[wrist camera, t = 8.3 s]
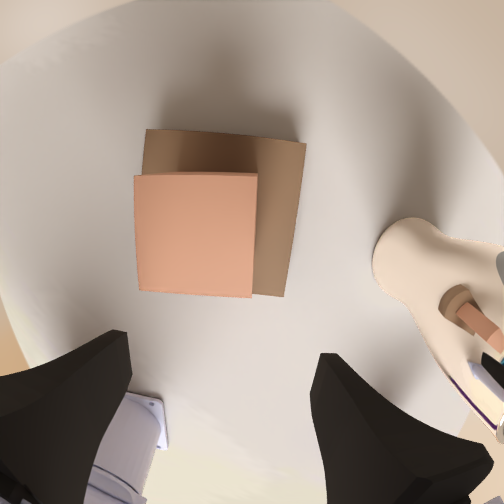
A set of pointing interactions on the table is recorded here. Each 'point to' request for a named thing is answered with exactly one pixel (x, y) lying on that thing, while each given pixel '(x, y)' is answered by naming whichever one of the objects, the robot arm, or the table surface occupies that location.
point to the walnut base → (268, 192)
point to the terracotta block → (196, 232)
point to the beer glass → (451, 307)
